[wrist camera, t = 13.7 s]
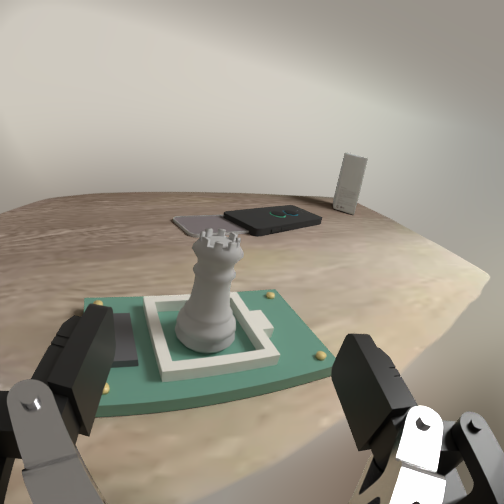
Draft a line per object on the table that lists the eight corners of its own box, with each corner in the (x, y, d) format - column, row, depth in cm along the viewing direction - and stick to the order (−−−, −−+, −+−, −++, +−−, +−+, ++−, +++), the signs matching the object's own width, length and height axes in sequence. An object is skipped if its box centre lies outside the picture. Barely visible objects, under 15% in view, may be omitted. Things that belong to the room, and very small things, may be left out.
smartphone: (274, 229, 50) (192, 235, 41) (273, 234, 51) (191, 241, 42) (247, 214, 56) (171, 216, 46) (247, 218, 56) (170, 222, 47)
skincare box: (354, 215, 75) (369, 159, 69) (331, 208, 75) (346, 152, 70) (351, 208, 82) (365, 157, 76) (331, 202, 83) (344, 151, 77)
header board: (89, 417, 14) (82, 395, 13) (85, 309, 23) (83, 287, 22) (335, 374, 22) (345, 354, 21) (272, 299, 31) (277, 280, 30)
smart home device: (324, 217, 60) (258, 228, 46) (322, 225, 61) (256, 239, 46) (291, 204, 65) (221, 210, 51) (290, 211, 66) (220, 220, 51)
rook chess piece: (245, 348, 22) (270, 248, 19) (190, 363, 19) (204, 255, 16) (215, 313, 25) (232, 221, 22) (165, 323, 22) (173, 223, 19)
